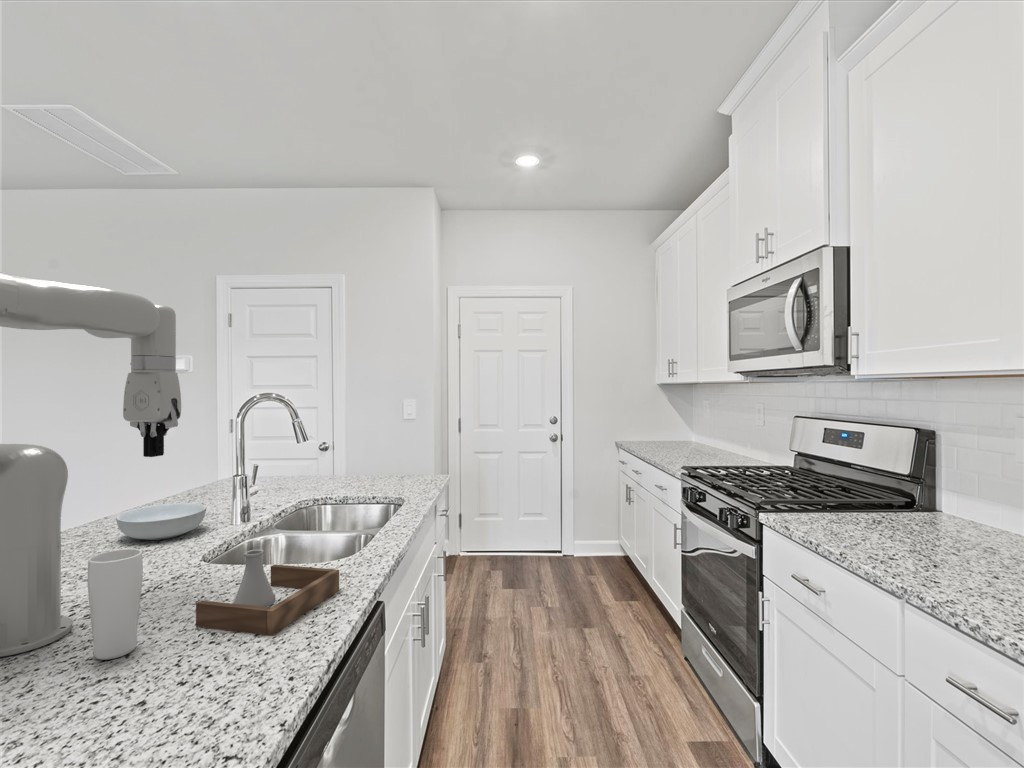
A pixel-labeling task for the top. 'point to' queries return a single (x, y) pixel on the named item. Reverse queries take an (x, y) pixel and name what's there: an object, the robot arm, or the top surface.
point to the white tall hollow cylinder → (115, 601)
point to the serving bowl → (161, 520)
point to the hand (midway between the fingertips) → (153, 455)
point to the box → (271, 620)
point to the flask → (254, 582)
